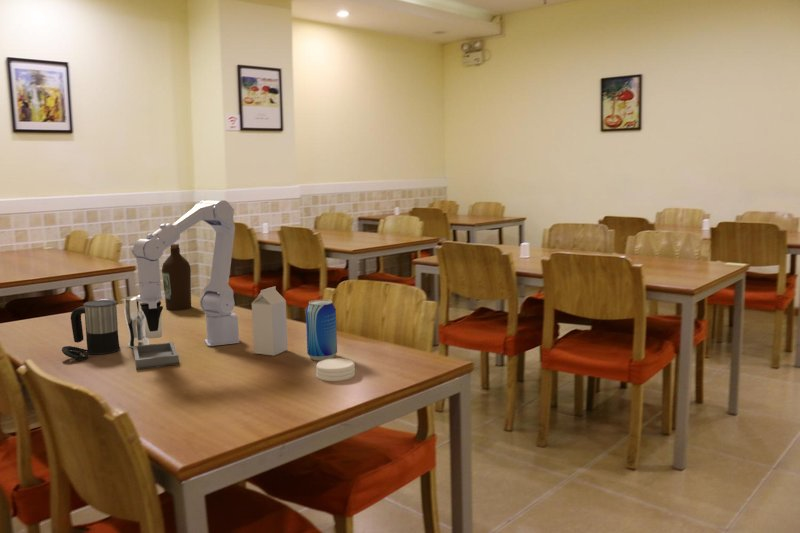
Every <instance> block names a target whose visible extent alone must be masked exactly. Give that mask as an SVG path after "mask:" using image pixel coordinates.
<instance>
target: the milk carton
mask: <svg viewBox="0 0 800 533" xmlns="http://www.w3.org/2000/svg"><path fill="white" fill-rule="evenodd" d="M276 288H277V287H276V285H275V286H272V287H267V288H265V289H261V290H260V293H259V294H258V295H257V297H256V298H255V299H254V300H253V301H252V302H251V321H252V338H253V340H252V341H253V343H252V344H253V354H256V355H266V356H273V357H274V356H277V355H279V354H281V353H283V352H285V351H288V348H289V346H288V344H289V343H288V324H287V323H288V321H287V300H286V299H285V298H284V297H283V296H282V295H281V294H280V293H279V292H278V291H277V289H276Z"/></svg>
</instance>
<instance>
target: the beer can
mask: <svg viewBox="0 0 800 533" xmlns="http://www.w3.org/2000/svg"><path fill="white" fill-rule="evenodd" d="M305 320H306V321H305V325H306V349H307V356H309V358H310V359H311V360H312V361H313V360H314V361H323V360H326V359H334V358H335V356H336V354H337V353H338V338H337V337H338V336H337V333H338V332H337V309H336V307H335V305H334V303H333V301H332V300H331V299H315V300H309V301H308V305H307V308H306V309H305Z"/></svg>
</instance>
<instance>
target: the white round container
mask: <svg viewBox="0 0 800 533" xmlns="http://www.w3.org/2000/svg"><path fill="white" fill-rule="evenodd" d="M315 367H316V373H315V374H316V375H315V376H316V378H317V379H318V380H320V381H323V382H324V381H325V382H341V381H342V382H343V381H347V380H350V379H352V378H354V376H355V374H356V372H355V370H356V368H355V367H356V366H355V362H354V361H353V360H351V359H347V358H340V357H339V358H337V357H336V358H335V357H334V358H332V359H326V360H319V361H318V362H317V364H316V366H315Z"/></svg>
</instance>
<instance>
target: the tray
mask: <svg viewBox="0 0 800 533" xmlns="http://www.w3.org/2000/svg"><path fill="white" fill-rule="evenodd" d="M132 349H133V351H132V352H133V358H134V364H135V369H136V370H143V369H144V370H146V369H152V368H161V367H168V366H177V365H179V364H180V363H179V360H180V359H179V353H178V351H177V349H176V346H175V344H174V341H171V342H170V341H169V342H160V343H152V344H149V345H141V346H133V348H132Z"/></svg>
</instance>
